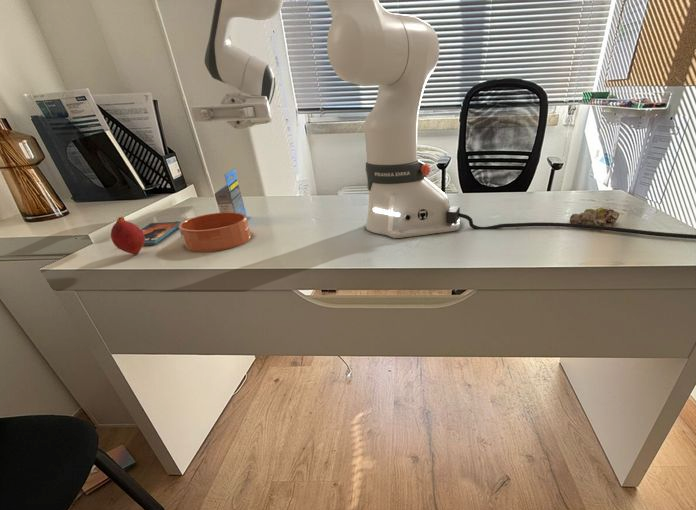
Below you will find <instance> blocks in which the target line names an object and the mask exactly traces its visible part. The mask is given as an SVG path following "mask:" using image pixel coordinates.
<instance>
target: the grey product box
mask: <svg viewBox="0 0 696 510" xmlns="http://www.w3.org/2000/svg"><path fill="white" fill-rule="evenodd" d="M231 177H232V178H231ZM224 178H225V185H224V186H223V187H221V188H220V189H218V190H217V191H216V192H215V193H214V197H215V201H216V204H217V207H218V211H219V213H223V212H236V213H242V214H244V215H246V218H247V219H248V214H247V211H246V207H245V204H244V199H243V196H242V192H241V189H240V184H239V182H238V181H239V180H238V177H237V172H236V168H232V169H230V170H229V171H228V172H227V173H224ZM230 178H231V179H230Z"/></svg>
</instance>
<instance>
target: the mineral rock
mask: <svg viewBox="0 0 696 510" xmlns="http://www.w3.org/2000/svg"><path fill="white" fill-rule="evenodd" d="M619 217H620V212H618V211H616V210H614V209H613V208H605V207H599V208H595V209H593V208H586V209H585V210H584V212H580V213H572V214H571V216H570V217H569V223H573V224H587V225H598V226H608V227H613V225H614V224H615V223H616V222H617V221H618V220H619Z"/></svg>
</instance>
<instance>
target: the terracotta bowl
mask: <svg viewBox="0 0 696 510" xmlns="http://www.w3.org/2000/svg"><path fill="white" fill-rule="evenodd" d="M181 222H182V223H180V224H179V227H178V228H177V229H178V230H179V233H180V236H181V238H182V241H183V244H184V246H185V248H186V249H187V250H189V251H192V252H200V253H203V252H204V253H205V252H206V253H209V252H217V251H223V250H228V249H232V248H236V247H238V246H241V245H243V244H246V243H247V242H249V241H250V240H251V239H252V233H251V230H250V226H249V222H248V217H247V218H246V215H244V214H242V213H236V212H223V213H220V212H213V213H207V214H202V215H197V216H194V217H191V218H188V219H186V220H183V221H181Z"/></svg>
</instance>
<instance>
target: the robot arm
mask: <svg viewBox="0 0 696 510" xmlns="http://www.w3.org/2000/svg"><path fill="white" fill-rule="evenodd" d="M325 2H326V4H327V6H328V9H329V11H330V14H331V20H332V22H331V23H330V26H329V29H328V32H327V38H326V51H327V57H328V60H329V64H330V66H331V68H332V70H333V71H334V74H335V75H336V76H337V77H338V78H340V79H341V80H342V81H345V82H347V83H351V84H354V85H358V86H362V87H371V86H373V87H374V86H378V89H377V96H376V100H375V103H374V106H373V108H372V110H371V111H370V112H369V113H368V115H367V116H366V118H365V121H364V124H363V126H364V128H363V129H364V138H365V139H364V140H365V152H366V162H365V182H366V187H367V190H368V207H367V218H366V222H365V228H366V230H367V231H369V232H371V233H374V234H377V235H383V236H384V235H385V236H387V237H390V238H394V239H401V238H402V239H403V238H409V237H416V236H424V235H425V236H426V235H432V234H440V233H449V232H455V231H458V230H460V228H461V220H460V218H462V219H465V220H467V221H468V224H469V227H470V228H472V229H474V230H496V229H503V228H522V227H523V228H525V227H558V228H559V227H560V228H578V229H587V230H588V229H590V230H598V231H606V232H617V233H626V234H635V235H642V236H643V235H645V236H651V237H652V236H653V237H664V238H677V239H688V240H689V239H691V240H696V234H693V233H691V234H690V233H677V232H663V231H653V230H644V229H643V230H642V229H634V228H625V227H618V226H612V227H608V226H598V225H587V224H573V223H570V222H545V221H544V222H543V221H541V222H538V221H537V222H513V223H512V222H511V223H508V222H507V223H498V224H494V225H487V226H479V225H476V224H474V222H473V218H472V217H471V216H470V215H468V214H466V213H461V206H458V205H457V206H456V205H455V206H454V205H451V204H450V199H449V197H448V195H447V194H446V193H445V192H444V191H443V190H441V189H440V188H439V187H438V186H436V184H434V183H433V182H432V181H430V179H428V178H427V176H428V175H429V174H430V173H431V170H432V169H431V167H430V166H429V164H427V163H425V162H423V161H422V160H419V159H418V122H419V121H418V120H419V111H420V107H421V102H422V98H423V95H424V91H425V87H426V84H427V82H428V80H429V79H430V77H431V75H432V74H433V72H434V71H435V70H436V67H437V64H438V62H439V59H440V58H439V57H440V42H439V41H440V40H439V38H438V35H437V32H436V31H435V29H434V28H433V26H432V25H431V24H429V23H427V22H425V21H424V20H422V19H420V18H419V17H417V16H414V15H412V14H401V13H395V12H393V13H392V12H389V11H388V10H387V9H386V8H384V7H383V5H382V4H381V3H380V1H379V0H325ZM283 4H284V0H215V2H214V8H213V12H212V13H213V14H212V20H211V26H210V31H209V37H208V42H207V45H206V49H205V51H204V66H205V68H206V69H207V72H208V73H209V75H210V76H211V78H212V79H213V80H216V81H219V82H221V83H224V84H227V85H229V86H231V87H232V88H234V89H236V90H238V91H231V92H228V93H226V94H225V95H224V96H223V97H222V99H221V101H220V103H219V104H202V105H200V104H199V105H192V106H189V111H190V115H191V118H192V121H193V122H194V123H215V122H216V123H217V122H226V123H227V124H228V125H229V126H230V127H231V128H234V129H236V130H245V129H248V128H249V129H250V128H253V127H254V126H255V127H256V126H258V125H264V124H271V123H272V122H273V121H272V119H273V116H272V111H271V107H270V105H271V103H272V101H273V99H274V98H273V97H274V94H275V90H276V76H275V74H274V71H273V69H272V67H271V65H270V64H269V63H267V62H265V61H264V60H262V59H260V58H259V57H256V56H254V55H252V54H250V53H249V52H247V51H245V50H243V49H242V48H239V47H237V46H236V45H235V44H234V43H233V42H232V41H231V40H230V35H231V31H232V25H233V21H234V18H245V19H248V20H249V19H250V20H254V21H265V20H269V19H272V18H274V17H275V16H276V15H278V14H279V13H280V11H281V10H282V8H283Z"/></svg>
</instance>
